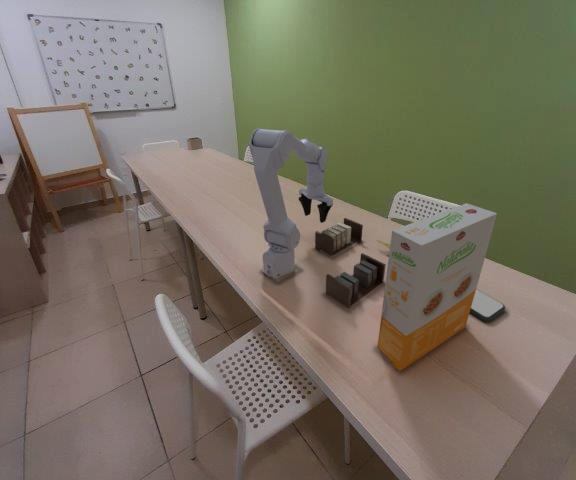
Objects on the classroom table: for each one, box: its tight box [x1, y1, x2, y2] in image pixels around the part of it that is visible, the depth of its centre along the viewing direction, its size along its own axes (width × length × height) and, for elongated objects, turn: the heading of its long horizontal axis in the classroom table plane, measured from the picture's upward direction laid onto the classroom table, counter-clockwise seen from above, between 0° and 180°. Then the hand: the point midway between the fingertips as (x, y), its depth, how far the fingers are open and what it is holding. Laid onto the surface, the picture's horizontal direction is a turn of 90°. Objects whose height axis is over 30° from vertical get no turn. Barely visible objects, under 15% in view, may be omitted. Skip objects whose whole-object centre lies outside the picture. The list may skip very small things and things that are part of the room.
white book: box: [336, 222, 351, 244], centre depth 107 cm, size 2×5×6 cm, turn 40°
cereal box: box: [377, 202, 498, 372], centre depth 63 cm, size 22×6×30 cm, turn 120°
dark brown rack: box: [314, 217, 364, 257], centre depth 106 cm, size 16×8×7 cm, turn 130°
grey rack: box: [325, 252, 387, 309], centre depth 83 cm, size 16×8×7 cm, turn 130°
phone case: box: [469, 288, 506, 323], centre depth 80 cm, size 9×2×16 cm
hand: (315, 218), depth 106 cm, fingers open, 7 cm apart
